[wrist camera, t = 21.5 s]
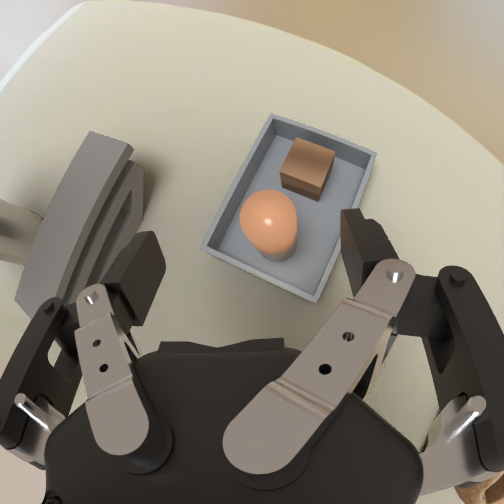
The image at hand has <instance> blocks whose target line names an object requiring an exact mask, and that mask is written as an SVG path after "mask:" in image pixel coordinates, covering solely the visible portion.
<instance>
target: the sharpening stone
mask: <svg viewBox="0 0 504 504" xmlns="http://www.w3.org/2000/svg"><path fill="white" fill-rule="evenodd" d="M133 151H134V148H132V147H131V146H130V145H129V144H128V143H125V142H122V141H119V140H116V139H113V138H110V137H107V136H104V135H101V134H98V133H94V132H91V131H89V133H88V135H87V136H86V138H85V140H84V141H83V143H82V145H81V146H80V148H79V150H78V151H77V153H76V155H75V157H74V158H73V160H72V162H71V164H70V165H69V167H68V169H67V171H66V173H65V175H64V177H63V179H62V181H61V182H60V184H59V186H58V188H57V190H56V192H55V195H54V197H53V199H52V201H51V203H50V205H49V207H48V209H47V212H46V214H45V216H44V218H43V221H42V223H41V225H40V228H39V230H38V233H37V235H36V238H35V240H34V243H33V245H32V248H31V251H30V253H29V256H28V259H27V262H26V265H25V268H24V270H23V274H22V277H21V280H20V283H19V286H18V289H17V293H16V296H15V301H16V302H17V303H18V304H19V306H20V307H21V308H22V309H23V310H24V311H25V312H26V314H27V315H28V316H29V317H30V318H31V319H33V317H34V315H35V314H36V312H37V310H38V309H39V307H40V306H41V305H42V304H43V303H44V302H45V301H46V300H48V299H50V298H52V297H59V298H61V300H62V301H63V303H64V304H65V305H69V304H72V303H75V302H76V300H77V297H78V295H79V294H80V293H81V292H82V291H83V290H84V289H86V288H87V287H89V286H91V285H94V284H99V283H100V282H101V280H102V278H103V277H104V275H105V274H106V272H107V270H108V269H109V267H111V264H112V263H113V261H115V258H116V257H117V255H118V254H119V252H120V251H121V250H122V249H123V248H125V247H126V246H127V245H128V244H129V243H130V241H131V240H132V238H133V237H134V235H135V234H136V232H137V230H138V228H139V226H140V224H141V222H142V220H143V190H144V169H143V168H141V167H140V166H139V165H138V164H137V163H135V162H132V161H130V160H128V159H129V157H130V156H131V154H132V152H133Z"/></svg>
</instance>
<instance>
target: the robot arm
mask: <svg viewBox="0 0 504 504" xmlns="http://www.w3.org/2000/svg"><path fill="white" fill-rule="evenodd" d="M42 221H43V220H42V218H41V217H40V216H39V215H38V214H35V213H33V212H31V211H28V210H25V209H23V208H20V207H18V206H15V205H13V204H10V203H8V202H5V201H3V200H1V199H0V260H2V261H6V262H11V263H16V264H21V265H26V262H27V259H28V256H29V253H30V251H31V248H32V245H33V243H34V240H35V238H36V235H37V233H38V230H39V228H40V225H41V223H42ZM340 243H341V253H342V258H343V261H344V265H345V268H346V271H347V275H348V278H349V282H350V286H351V289H352V293H353V296H354V299H353V300H352V299H349V298H345V299H344V300H343V301H342V302H341V303H340V305H339V306H338V307H337V309H336V310H335V311H334V313H333V314H332V315H331V316H330V318H329V319H328V320H327V322H326V323H325V324H324V325H323V327H322V328H321V329H320V331H319V332H318V333H317V334H316V336H315V337H314V338H313V339H312V341H311V342H310V343H309V344H308V345H307V347H306V348H305V349H304V350H303V351H299V350H296V349H292V348H287V347H285V344H284V338H272V339H256V340H248V341H244V342H240V343H236V344H232V345H228V346H224V347H217V348H216V347H211V346H206V345H201V344H197V343H192V342H164V341H161V343H160V346H159V349H158V351H155V352H151V353H149V354H146V355H144V356H142V354H141V352H140V350H139V347H138V345H137V343H136V340H135V338H134V336H133V334H132V332H131V331H130V328H131V326H143V324H144V321H145V319H146V316H147V314H148V312H149V309H150V307H151V304H152V302H153V299H154V297H155V295H156V292H157V290H158V288H159V285H160V283H161V281H162V278H163V276H164V274H165V270H166V264H165V259H164V256H163V254H162V251H161V249H160V246H159V243H158V241H157V238H156V235H155V233H154V232H153V231H146V232H139V233H136V234H135V235H134V237H133V238H132V240H131V241H130V243H129V244H128V245H127V246H126V247H125V248H123V249H122V250H121V251H120V252H119V254H118V255H117V257H116V258H115V261H113V263H112V264H111V267H109V269H108V270H107V272H106V274H105V275H104V277H103V278H102V280H101V282H100V283H99V284H94V285H91V286H89V287H87V288H86V289H84V290H83V291H82V292H81V293H80V294H79V295H78V297H77V300H76V302H75V303H72V304H69V305H65V304H64V303H63V301H62V300H61V298H59V297H52V298H50V299H48V300H46V301H45V302H44V303H43V304H42V305H41V306H40V307H39V309H38V310H37V312H36V314H35V315H34V317H33V319H32V320H31V322H30V324H29V325H28V327H27V329H26V331H25V332H24V334H23V336H22V338H21V340H20V341H19V343H18V345H17V347H16V349H15V351H14V353H13V355H12V357H11V359H10V360H9V362H8V364H7V367H6V369H5V371H4V373H3V375H2V377H1V379H0V445H2V447H3V448H5V449H6V450H7V451H9V452H11V453H12V454H14V455H15V456H17V457H19V458H20V459H22V460H23V461H25V462H28V463H30V464H32V465H34V466H36V467H37V468H39V469H41V470H46V492H45V497H44V500H43V502H42V504H415V503H416V501H417V499H418V496H421V495H425V494H429V493H433V492H437V491H440V490H444V489H447V488H450V487H454V486H457V487H459V488H463V489H464V488H471V487H473V486H475V485H477V484H480V483H482V482H484V481H486V480H487V479H489V478H491V477H493V476H495V475H497V474H499V473H501V472H502V471H504V334H503V332H502V330H501V328H500V326H499V324H498V322H497V320H496V317H495V315H494V314H493V312H492V310H491V308H490V306H489V304H488V302H487V300H486V298H485V296H484V295H483V293H482V291H481V289H480V287H479V286H478V284H477V282H476V280H475V279H474V277H473V276H472V274H471V273H470V272H469V271H467V270H466V269H464V268H462V267H459V266H446V267H444V268H442V269H441V270H440V271H439V274H438V277H431V276H423V275H418V274H415V270H414V268H413V267H412V266H411V265H410V264H409V263H407V262H405V261H403V260H400V259H399V257H398V256H397V254H396V252H395V250H394V248H393V246H392V244H391V242H390V241H389V240H388V237H387V235H386V234H385V232H384V230H383V228H382V226H381V225H380V224H379V223H377V222H376V221H375V220H373V219H364V217H363V215H362V213H361V211H360V209H359V208H353V209H341V212H340ZM400 334H401V335H409V336H417V337H421V338H422V341H423V344H424V348H425V351H426V355H427V358H428V362H429V366H430V370H431V374H432V378H433V382H434V386H435V390H436V394H437V399H438V404H439V408H440V414H439V415H438V416H437V418H436V419H435V420H434V421H433V423H432V424H431V426H430V428H429V432H428V445H427V448H426V450H425V452H423V453H419V452H418V451H417V449H416V448H415V446H414V445H413V444H412V443H411V442H410V441H409V440H408V439H407V438H406V437H404V436H403V435H402V434H401V433H400V432H399V431H397V430H396V429H395V428H394V427H393V426H392V425H390V424H389V423H388V422H387V421H386V420H385V419H384V418H382V417H381V416H380V415H379V414H378V413H377V412H375V411H374V410H373V409H372V408H371V407H370V406H369V405H368V404H366V403H365V400H366V398H367V397H368V395H369V393H370V392H371V390H372V388H373V386H374V384H375V382H376V380H377V377H378V375H379V373H380V371H381V369H382V367H383V366H384V364H385V362H386V360H387V358H388V357H389V355H390V353H391V351H392V349H393V347H394V345H395V343H396V341H397V339H398V337H399V335H400ZM54 340H55V341H56V342H57V343H58V345H59V346H60V347H61V348H62V350H61V352H60V354H59V356H58V359H57V361H56V363H55V365H54V368H53V366H52V365H51V364H50V363H49V361H48V351H49V349H50V347H51V345H52V343H53V341H54ZM82 375H83V379H84V383H85V388H86V392H87V396H88V399H87V400H86V402H85V403H83V404H82V405H81V406H80V407H79V408H77V409H76V410H75V411H74V412H73V413H71V414H70V415H69V412H70V409H71V406H72V403H73V400H74V397H75V394H76V391H77V388H78V386H79V383H80V380H81V377H82ZM68 415H69V416H68Z"/></svg>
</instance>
